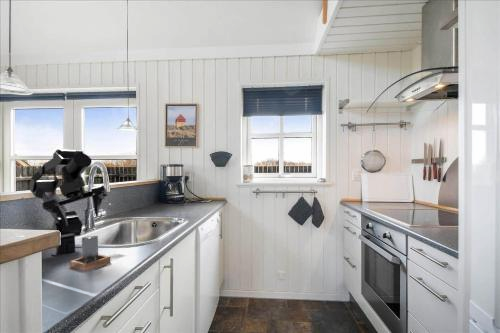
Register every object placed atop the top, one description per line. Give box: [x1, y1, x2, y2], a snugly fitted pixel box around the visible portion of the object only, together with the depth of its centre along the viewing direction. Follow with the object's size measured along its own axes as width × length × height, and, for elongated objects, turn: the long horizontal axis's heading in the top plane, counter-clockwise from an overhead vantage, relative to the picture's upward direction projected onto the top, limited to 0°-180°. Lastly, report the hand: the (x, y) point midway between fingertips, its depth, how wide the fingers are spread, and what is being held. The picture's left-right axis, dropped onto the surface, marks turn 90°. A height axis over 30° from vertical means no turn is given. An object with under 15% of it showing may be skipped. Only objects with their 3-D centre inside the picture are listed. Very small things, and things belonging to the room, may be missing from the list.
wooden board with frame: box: [69, 253, 126, 272], centre depth 86 cm, size 12×16×3 cm
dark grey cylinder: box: [81, 235, 99, 264], centre depth 83 cm, size 4×4×9 cm
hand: (82, 221), depth 89 cm, fingers open, 9 cm apart
